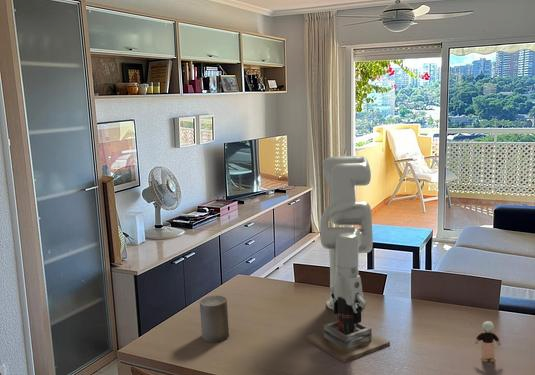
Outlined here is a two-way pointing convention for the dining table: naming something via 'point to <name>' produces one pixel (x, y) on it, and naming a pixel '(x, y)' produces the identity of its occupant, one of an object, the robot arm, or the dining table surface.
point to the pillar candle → (214, 318)
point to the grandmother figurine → (488, 342)
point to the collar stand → (347, 341)
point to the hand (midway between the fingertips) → (347, 317)
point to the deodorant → (345, 317)
